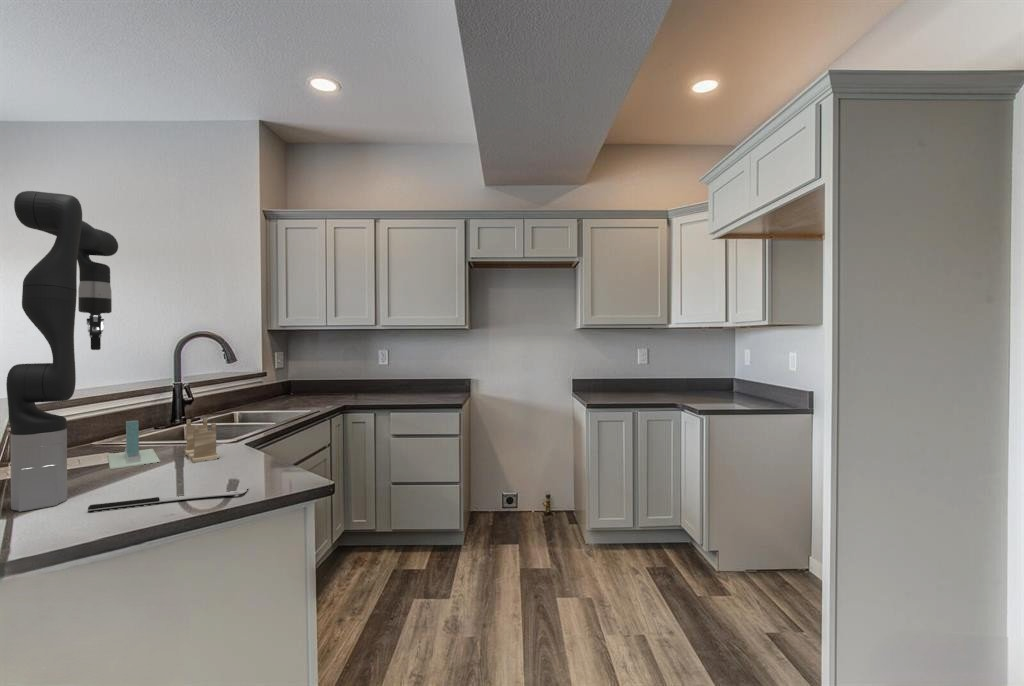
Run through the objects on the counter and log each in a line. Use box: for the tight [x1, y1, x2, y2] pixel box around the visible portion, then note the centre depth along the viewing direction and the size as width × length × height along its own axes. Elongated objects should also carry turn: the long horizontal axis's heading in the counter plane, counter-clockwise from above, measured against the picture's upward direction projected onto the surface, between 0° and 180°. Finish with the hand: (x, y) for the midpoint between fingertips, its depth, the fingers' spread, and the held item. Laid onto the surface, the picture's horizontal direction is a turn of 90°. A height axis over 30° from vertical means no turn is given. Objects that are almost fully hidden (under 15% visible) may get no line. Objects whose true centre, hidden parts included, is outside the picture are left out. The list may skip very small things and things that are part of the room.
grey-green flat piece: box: [124, 420, 141, 464], centre depth 149 cm, size 18×3×12 cm, turn 43°
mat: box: [107, 448, 161, 471], centre depth 149 cm, size 24×12×1 cm, turn 43°
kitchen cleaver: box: [87, 490, 248, 513], centre depth 110 cm, size 31×2×10 cm
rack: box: [183, 417, 220, 464], centre depth 153 cm, size 19×7×12 cm, turn 43°
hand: (95, 349), depth 139 cm, fingers open, 8 cm apart
